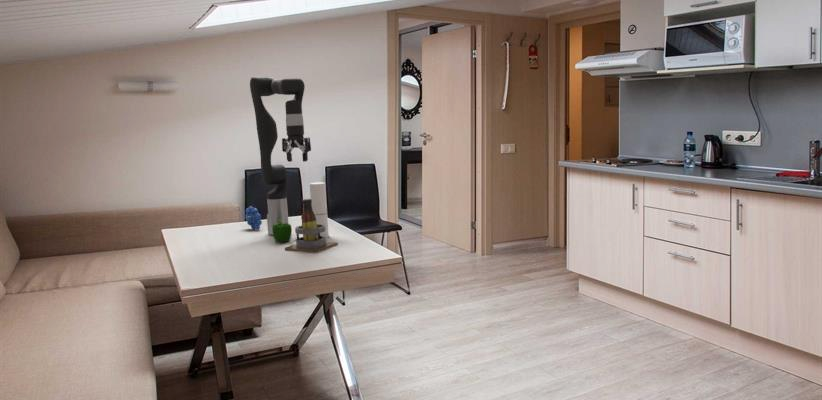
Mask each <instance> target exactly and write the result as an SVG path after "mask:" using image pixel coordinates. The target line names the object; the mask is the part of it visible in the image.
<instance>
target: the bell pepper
mask: <svg viewBox="0 0 822 400" xmlns="http://www.w3.org/2000/svg"><path fill="white" fill-rule="evenodd" d="M277 222H280V224H277V225H273V227H272V228H273V237H274V240H275V242H277V243H287V242H290V240H291V238H292V229H293V228H292V225H291V224H290V223H289V224H287V223H285V224H282V221H281V220H277Z"/></svg>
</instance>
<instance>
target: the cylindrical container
mask: <svg viewBox="0 0 822 400" xmlns="http://www.w3.org/2000/svg"><path fill="white" fill-rule="evenodd" d="M326 187H327V186H326V182H321V181H317V182H310V183H309V192H310V193H309V194H310V199H311V200H312V203H311V204H312V210H313V212H314V214H315V217H316V223H317V224H322V225H325V228H326V230H325V232H322V233H320V236H325V237H326V238H328V237H329V236H330V234H329V223H328V222H329V221H328V219H329V218H328V207H327V206H328V205H327V204H328V203H327V190H326Z"/></svg>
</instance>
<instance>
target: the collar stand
mask: <svg viewBox="0 0 822 400" xmlns="http://www.w3.org/2000/svg"><path fill="white" fill-rule="evenodd" d="M325 230H326V228H325V225H322V224H317V228H314V229H302V224H301V225H299V226H296V227H295V229H294V232H295V234H296V239H295V244H292V245H289V246H287V247H284V251H289V252H290V251H292V252H300V253H312V254H313V253H314V254H316V253H318V252H321V251H324V250H327V249H330V248H333V247H336V246H338V245H339V243H338V242H333V241H327V237H325V236H320V233H322V232H325ZM317 233H318V240H317ZM303 234H315V240H313V241H304V240H303V236H301V237H300V235H303Z"/></svg>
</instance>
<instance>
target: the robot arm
mask: <svg viewBox="0 0 822 400" xmlns="http://www.w3.org/2000/svg"><path fill="white" fill-rule="evenodd" d="M249 89H250V94H251V99H252V103H253V108H254V115H255V123H256V132H257V133H256V134H257V139H258V146H259V153H260V154H259V155H260V174H261V179H262V182H263V184H264V185H266V186H272V185H274V187H273V189H271V190H270V191H268V192H267V193H266V200H267V202H266V203H267V214H266V222H267V223H266V224H267V234H268V235H271V236H272V235H273V228H272V227H273V225H277V224H280V222H277V220H281V221H282V224H285V223H287V224H290V222H289V213H288V211H289V210H288V200H287V194H288V173H287V169H286V167H285V165H283V164H272V153H273V150H274V147H275V146H276V144H277V141H278V137H279V136H278V135H279V134H278V128H277V122H276V121H275V119H274V118H273V116H272V115H271V113H269V111H268V110H267V109H266V107H265V105H264V103H263V99H262V97H270V96H274V95H283V96H292V95H294V96H293V99H290V100H286V102H285V106H284V107H285V127H286V128H285V129H286V135H287V137H284V138H283V137H282V138H281V147H282V148H281V149H282V150H281V151H282V152H283V153H285V154H286V161H287V162H292V161H293V155H292V154H293V153H292V151H293V150H294V149H295V148H296V149H297V148H298V149H299V150H300V151H301V152H302V154H301V155H302V162H308V159H309V158H308V157H309V156H308V155H309V154H308V152H311V151H312V147H311V146H312V144H311V138H310V137H304V136H305V125H304V117H303V106H302V105H303V97H304V93H305V82H304V81H303V79H301V78H297V77H296V78H294V77H293V78H292V77H287V78H276V79H275V78H274V77H270V76H253V77H251V78H250V82H249ZM273 236H274V235H273Z"/></svg>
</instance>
